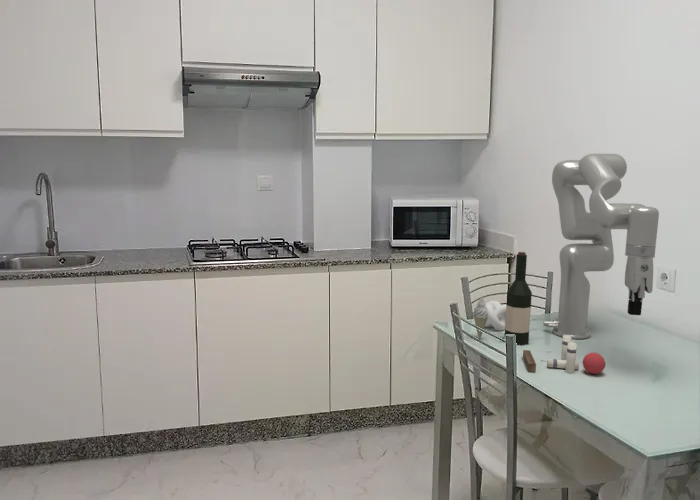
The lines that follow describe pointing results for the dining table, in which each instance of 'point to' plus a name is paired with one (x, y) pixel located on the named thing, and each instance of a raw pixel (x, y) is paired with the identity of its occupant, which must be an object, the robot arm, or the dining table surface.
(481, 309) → the ice cream cone
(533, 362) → the back wall
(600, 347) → the dining table surface
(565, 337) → the back pin far
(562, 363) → the front pin
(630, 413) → the dining table surface
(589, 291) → the robot arm
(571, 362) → the back pin near
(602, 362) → the ball
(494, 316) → the white knot
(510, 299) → the wine bottle
